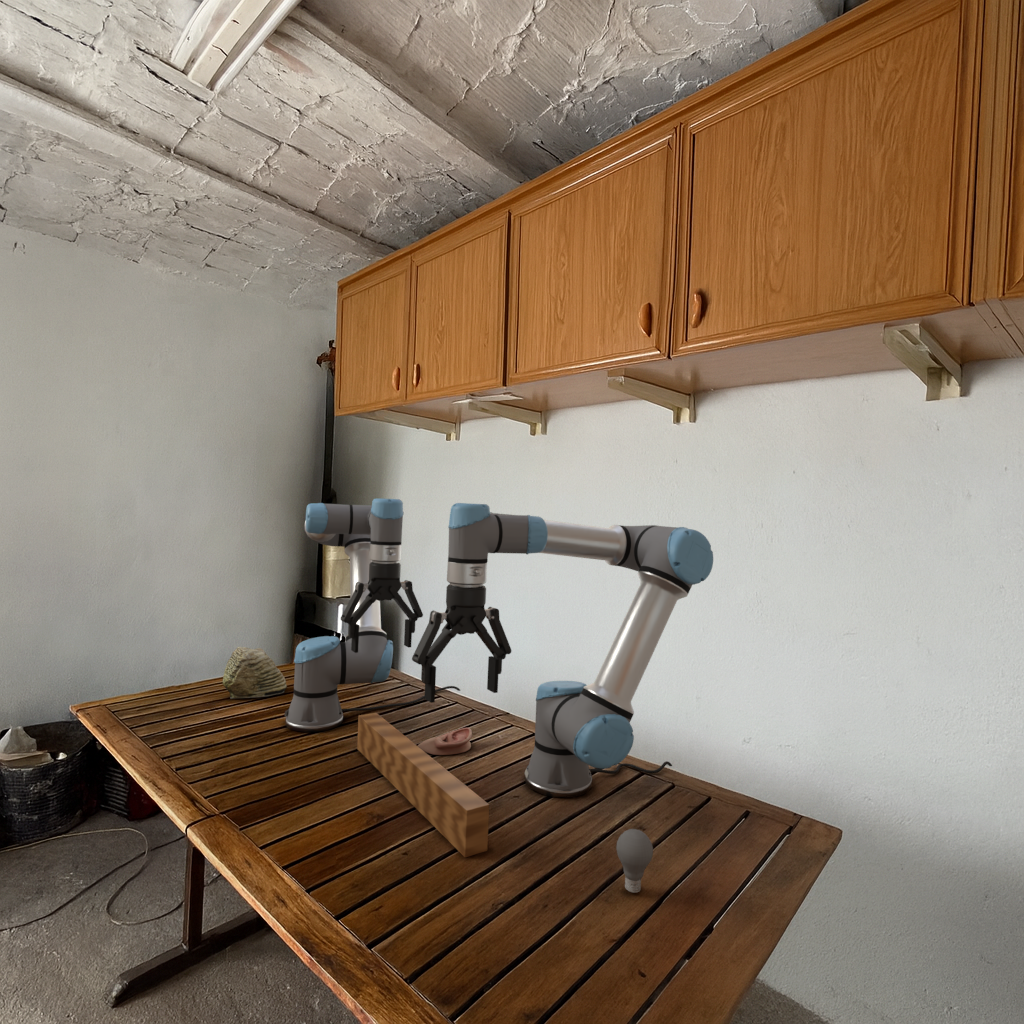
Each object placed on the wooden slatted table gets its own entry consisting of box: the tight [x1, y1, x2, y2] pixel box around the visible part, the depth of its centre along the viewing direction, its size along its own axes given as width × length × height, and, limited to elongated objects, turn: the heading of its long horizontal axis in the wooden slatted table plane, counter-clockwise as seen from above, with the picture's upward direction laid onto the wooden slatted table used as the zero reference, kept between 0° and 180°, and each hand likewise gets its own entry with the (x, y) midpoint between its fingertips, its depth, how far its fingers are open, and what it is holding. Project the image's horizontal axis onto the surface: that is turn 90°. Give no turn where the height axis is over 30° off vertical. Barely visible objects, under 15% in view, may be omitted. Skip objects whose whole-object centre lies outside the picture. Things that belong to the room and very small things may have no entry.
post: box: [356, 712, 490, 858], centre depth 138 cm, size 56×5×9 cm, turn 34°
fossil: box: [222, 646, 288, 699], centre depth 198 cm, size 9×18×15 cm, turn 132°
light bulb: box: [615, 828, 654, 894], centre depth 106 cm, size 6×6×10 cm
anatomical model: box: [417, 727, 473, 756], centre depth 163 cm, size 13×4×12 cm
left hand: (381, 648), depth 154 cm, fingers open, 13 cm apart
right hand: (461, 695), depth 120 cm, fingers open, 13 cm apart
